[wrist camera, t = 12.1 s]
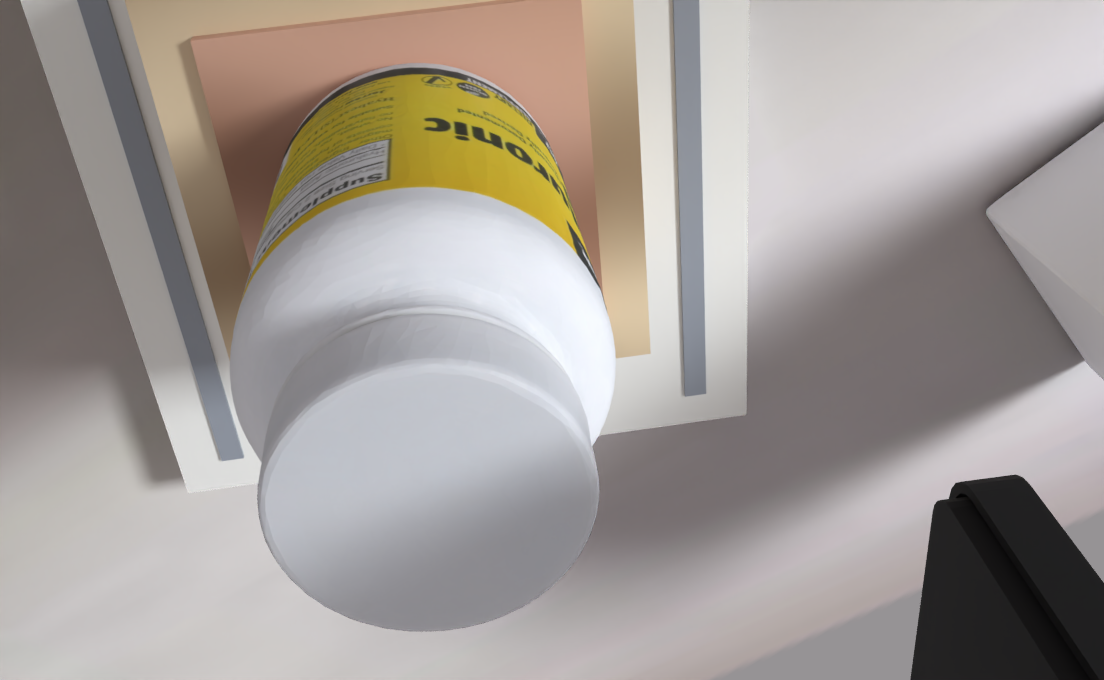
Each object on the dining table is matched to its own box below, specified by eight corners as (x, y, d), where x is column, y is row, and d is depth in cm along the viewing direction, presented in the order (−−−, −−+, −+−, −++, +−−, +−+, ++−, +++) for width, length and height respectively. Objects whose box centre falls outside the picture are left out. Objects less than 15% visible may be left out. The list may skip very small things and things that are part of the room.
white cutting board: (-69, -350, 21) (-104, -355, 19) (732, -430, 22) (753, -440, 20) (197, 461, 31) (187, 495, 30) (733, 386, 32) (747, 416, 30)
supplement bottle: (612, 215, 21) (740, 538, 13) (400, 357, 23) (393, 739, 14) (449, -9, 19) (478, 215, 10) (219, 165, 20) (79, 491, 12)
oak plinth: (172, -62, 22) (116, -11, 18) (591, -110, 23) (633, -71, 19) (268, 306, 27) (241, 417, 23) (615, 260, 28) (653, 360, 23)
